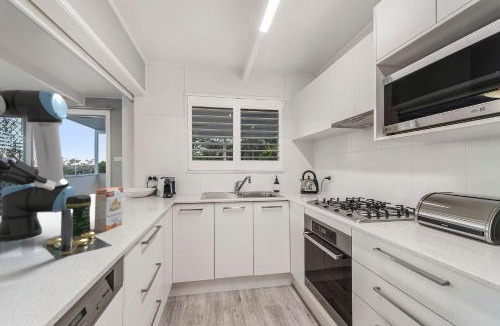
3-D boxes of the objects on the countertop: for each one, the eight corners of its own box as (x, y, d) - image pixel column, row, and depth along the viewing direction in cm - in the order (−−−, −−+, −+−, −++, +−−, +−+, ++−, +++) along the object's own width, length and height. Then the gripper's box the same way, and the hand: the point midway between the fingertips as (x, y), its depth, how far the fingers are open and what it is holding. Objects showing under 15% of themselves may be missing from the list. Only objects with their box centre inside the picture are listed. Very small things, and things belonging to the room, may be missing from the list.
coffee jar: (78, 238, 101) (79, 196, 102) (60, 238, 102) (61, 196, 102) (94, 232, 111) (94, 193, 111) (78, 232, 111) (78, 193, 112)
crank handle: (70, 242, 93) (70, 203, 93) (90, 240, 96) (91, 202, 96) (51, 257, 77) (52, 210, 77) (77, 254, 80) (77, 209, 80)
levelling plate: (41, 247, 90) (41, 239, 90) (92, 237, 104) (92, 230, 104) (56, 261, 77) (56, 252, 77) (112, 248, 90) (112, 240, 90)
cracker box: (106, 233, 109) (107, 189, 110) (93, 233, 109) (94, 189, 110) (123, 226, 123) (123, 186, 124) (111, 226, 123) (112, 186, 124)
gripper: (-57, 174, 64) (37, 202, 83) (-26, 156, 62) (64, 188, 81) (-44, 153, 68) (43, 184, 87) (-15, 135, 66) (69, 171, 85)
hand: (53, 186), depth 84 cm, fingers closed
